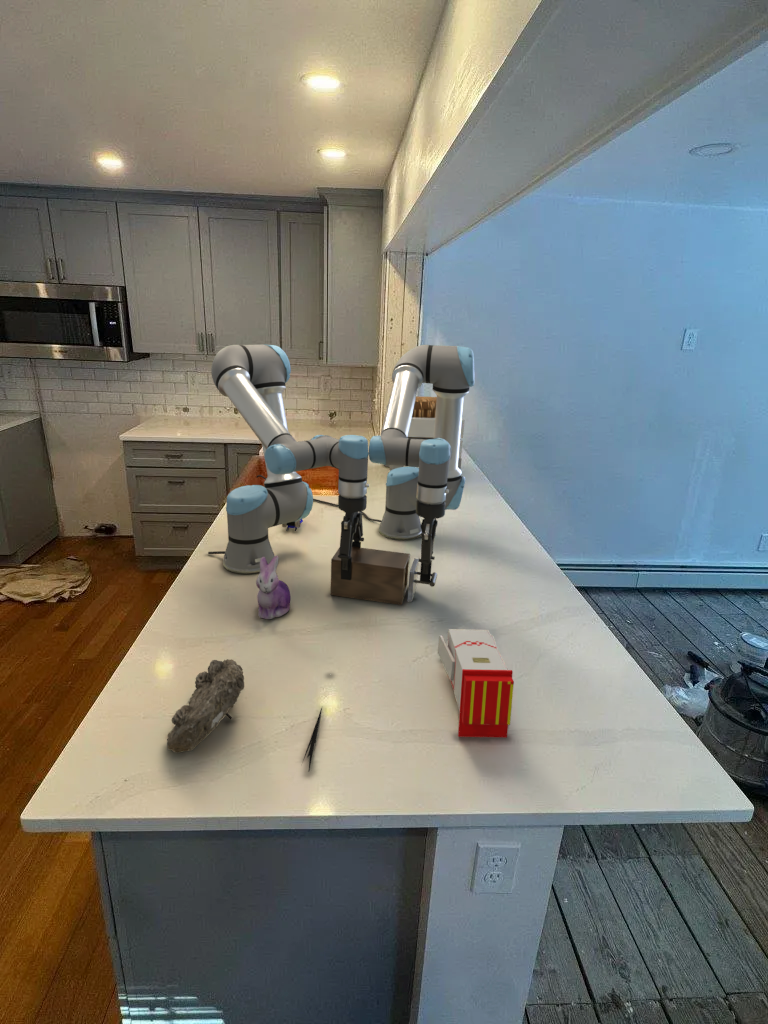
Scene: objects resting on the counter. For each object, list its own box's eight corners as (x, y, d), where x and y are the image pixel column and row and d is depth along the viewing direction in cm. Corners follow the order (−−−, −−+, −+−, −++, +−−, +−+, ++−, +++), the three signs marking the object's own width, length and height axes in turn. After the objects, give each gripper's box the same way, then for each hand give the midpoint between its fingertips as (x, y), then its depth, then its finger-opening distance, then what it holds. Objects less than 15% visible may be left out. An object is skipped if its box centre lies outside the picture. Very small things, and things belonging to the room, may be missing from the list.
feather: (331, 679, 122) (336, 673, 122) (307, 777, 96) (313, 769, 95) (324, 675, 122) (329, 669, 121) (298, 772, 95) (304, 764, 95)
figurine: (261, 624, 140) (259, 569, 134) (250, 605, 148) (248, 552, 143) (298, 616, 144) (297, 562, 139) (285, 598, 152) (284, 547, 147)
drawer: (436, 590, 159) (438, 561, 156) (432, 605, 151) (435, 574, 148) (352, 578, 163) (353, 550, 160) (344, 592, 155) (345, 563, 152)
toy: (488, 613, 130) (523, 677, 101) (484, 667, 133) (517, 744, 104) (435, 612, 130) (455, 676, 101) (432, 666, 133) (451, 743, 103)
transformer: (382, 463, 289) (386, 382, 275) (445, 464, 293) (451, 384, 279) (390, 482, 257) (394, 392, 243) (460, 483, 261) (468, 394, 247)
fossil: (192, 660, 117) (244, 628, 112) (224, 691, 120) (276, 661, 115) (142, 746, 98) (202, 712, 93) (182, 779, 101) (242, 748, 96)
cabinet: (407, 588, 161) (409, 553, 158) (401, 605, 152) (404, 568, 148) (340, 579, 164) (340, 545, 161) (330, 595, 155) (331, 559, 152)
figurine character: (300, 537, 196) (305, 517, 210) (300, 518, 193) (305, 499, 206) (281, 536, 196) (287, 517, 209) (280, 517, 193) (286, 498, 206)
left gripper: (356, 509, 139) (354, 590, 146) (375, 483, 160) (372, 556, 167) (326, 506, 140) (326, 587, 147) (349, 481, 161) (347, 553, 168)
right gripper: (443, 509, 139) (436, 595, 147) (447, 494, 151) (441, 574, 159) (413, 506, 141) (407, 591, 148) (420, 491, 153) (414, 571, 161)
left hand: (350, 570), depth 157 cm, fingers closed on cabinet, 10 cm apart
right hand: (424, 582), depth 154 cm, fingers closed
